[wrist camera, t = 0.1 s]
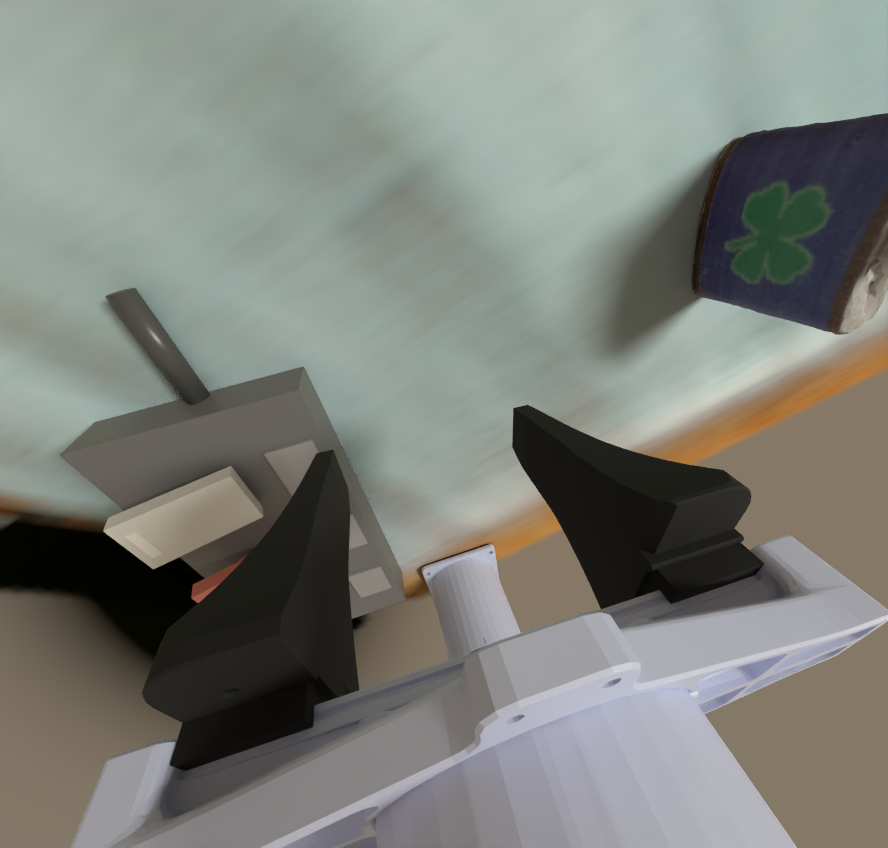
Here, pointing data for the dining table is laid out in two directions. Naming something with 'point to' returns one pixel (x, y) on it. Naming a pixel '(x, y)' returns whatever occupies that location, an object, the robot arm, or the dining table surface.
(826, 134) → the dark blue box
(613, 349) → the dining table surface
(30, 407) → the dining table surface
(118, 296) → the power strip
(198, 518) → the rocker
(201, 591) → the rocker middle
